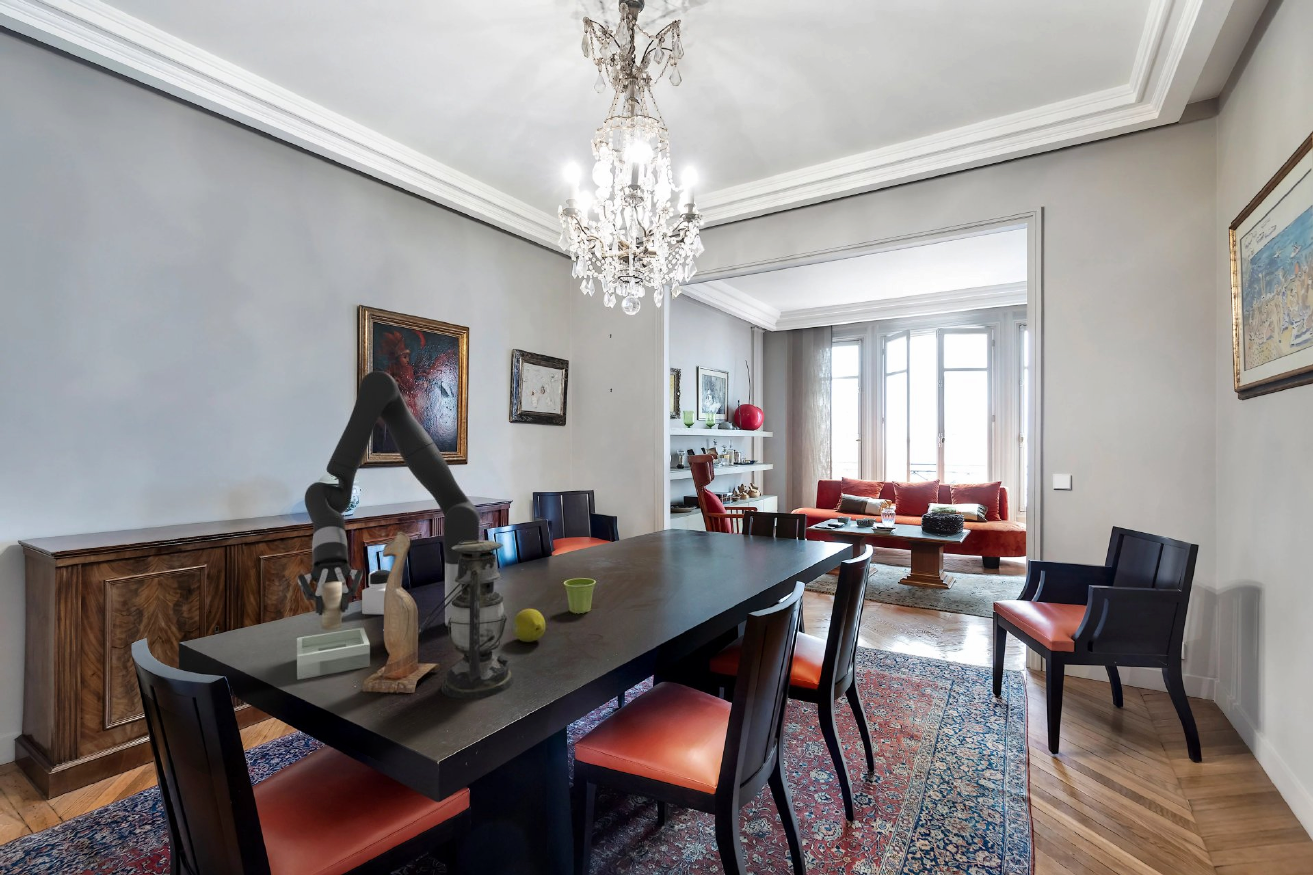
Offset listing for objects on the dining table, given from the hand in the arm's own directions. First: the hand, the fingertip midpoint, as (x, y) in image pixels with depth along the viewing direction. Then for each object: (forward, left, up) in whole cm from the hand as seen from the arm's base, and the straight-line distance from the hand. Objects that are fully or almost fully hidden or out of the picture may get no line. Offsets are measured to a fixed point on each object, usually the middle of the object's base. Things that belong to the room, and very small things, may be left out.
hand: (332, 611), depth 134 cm
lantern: (-33, +13, -12) cm, 38 cm away
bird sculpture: (-19, +10, -12) cm, 25 cm away
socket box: (+1, -2, -12) cm, 12 cm away
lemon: (-42, -13, -12) cm, 46 cm away
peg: (+1, -2, -4) cm, 4 cm away
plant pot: (-53, -39, -12) cm, 67 cm away
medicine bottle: (+7, -44, -12) cm, 46 cm away
